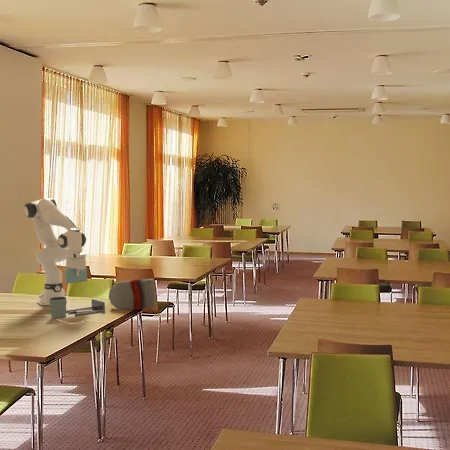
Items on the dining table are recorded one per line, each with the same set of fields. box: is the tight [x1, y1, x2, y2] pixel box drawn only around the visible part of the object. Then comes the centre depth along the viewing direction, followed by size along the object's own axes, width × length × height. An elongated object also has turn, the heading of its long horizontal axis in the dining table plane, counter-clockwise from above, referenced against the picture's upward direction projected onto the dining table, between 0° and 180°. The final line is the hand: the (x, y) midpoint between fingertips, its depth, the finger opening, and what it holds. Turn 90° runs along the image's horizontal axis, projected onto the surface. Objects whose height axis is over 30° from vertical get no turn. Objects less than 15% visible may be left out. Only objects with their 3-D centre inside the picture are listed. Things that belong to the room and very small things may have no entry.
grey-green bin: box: [49, 296, 67, 320], centre depth 402 cm, size 10×10×12 cm
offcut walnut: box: [75, 310, 94, 314], centre depth 410 cm, size 4×10×2 cm, turn 112°
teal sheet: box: [64, 266, 88, 284], centre depth 418 cm, size 2×14×9 cm, turn 130°
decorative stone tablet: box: [108, 278, 157, 311], centre depth 424 cm, size 19×6×30 cm
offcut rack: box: [66, 298, 106, 317], centre depth 413 cm, size 15×20×7 cm
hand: (75, 275), depth 418 cm, fingers closed on teal sheet, 2 cm apart
